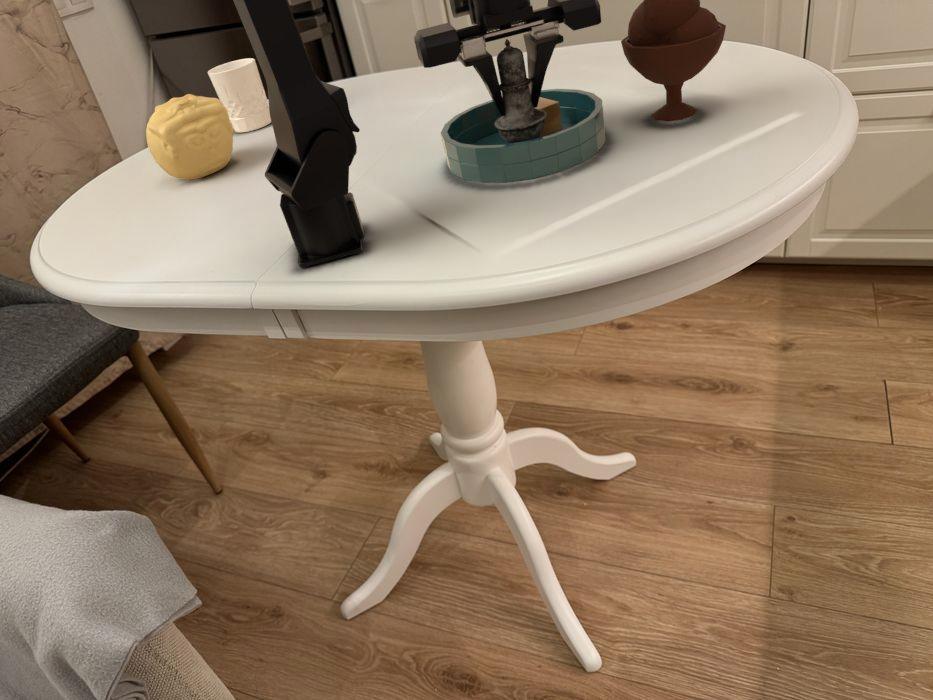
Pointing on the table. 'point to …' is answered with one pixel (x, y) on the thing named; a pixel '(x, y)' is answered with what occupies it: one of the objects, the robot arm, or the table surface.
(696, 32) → the ice cream bowl
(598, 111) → the bowl
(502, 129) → the salt shaker
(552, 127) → the block
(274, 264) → the table surface
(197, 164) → the sculpture
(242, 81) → the white cup
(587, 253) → the table surface
